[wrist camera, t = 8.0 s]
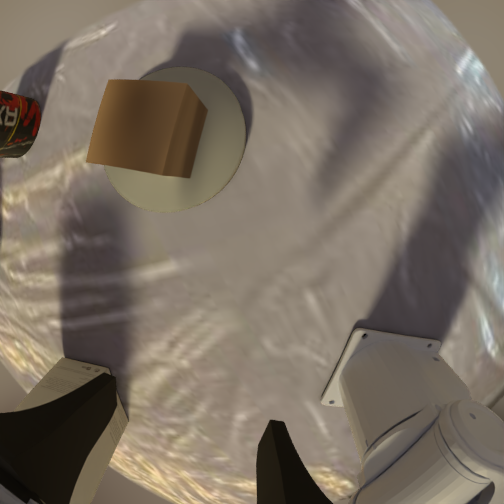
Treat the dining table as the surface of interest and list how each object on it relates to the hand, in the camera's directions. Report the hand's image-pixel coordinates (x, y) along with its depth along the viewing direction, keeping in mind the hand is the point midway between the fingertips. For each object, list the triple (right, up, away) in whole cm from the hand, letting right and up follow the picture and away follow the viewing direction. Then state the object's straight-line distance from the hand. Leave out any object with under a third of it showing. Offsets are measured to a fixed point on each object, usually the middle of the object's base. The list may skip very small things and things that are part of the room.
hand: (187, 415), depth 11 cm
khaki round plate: (-2, +15, +7) cm, 17 cm away
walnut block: (-3, +15, +6) cm, 16 cm away
